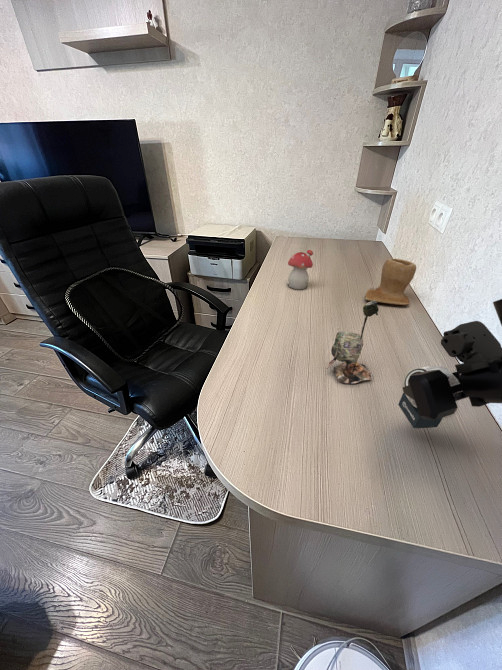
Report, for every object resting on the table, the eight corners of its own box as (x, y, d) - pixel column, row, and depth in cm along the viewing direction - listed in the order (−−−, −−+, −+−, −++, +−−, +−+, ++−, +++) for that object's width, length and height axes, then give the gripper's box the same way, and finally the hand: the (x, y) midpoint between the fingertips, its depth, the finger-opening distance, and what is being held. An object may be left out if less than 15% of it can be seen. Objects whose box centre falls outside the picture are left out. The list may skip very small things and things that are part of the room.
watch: (388, 404, 53) (405, 360, 47) (428, 403, 54) (451, 359, 48) (403, 429, 49) (424, 384, 43) (447, 427, 49) (474, 382, 43)
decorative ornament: (311, 285, 113) (316, 248, 104) (307, 292, 108) (312, 254, 99) (289, 281, 116) (292, 245, 107) (284, 288, 111) (287, 250, 102)
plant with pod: (323, 360, 74) (337, 293, 63) (368, 366, 72) (390, 297, 61) (324, 382, 68) (339, 311, 56) (373, 388, 66) (399, 316, 54)
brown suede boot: (404, 295, 106) (418, 256, 97) (409, 310, 96) (425, 269, 88) (363, 290, 109) (372, 252, 101) (363, 304, 100) (374, 264, 91)
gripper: (552, 305, 37) (448, 331, 52) (446, 330, 33) (365, 350, 47) (586, 387, 36) (468, 389, 51) (480, 426, 31) (384, 415, 46)
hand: (423, 384), depth 49 cm, fingers closed on watch, 8 cm apart
